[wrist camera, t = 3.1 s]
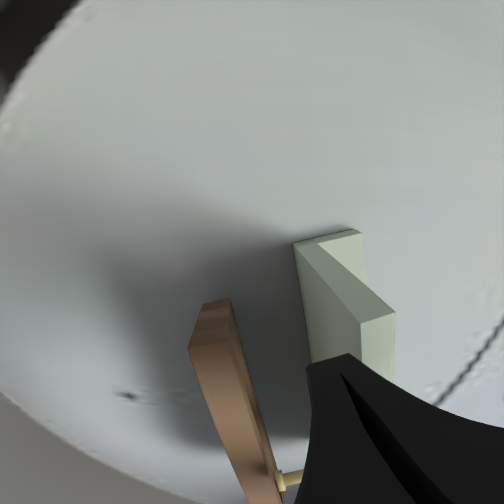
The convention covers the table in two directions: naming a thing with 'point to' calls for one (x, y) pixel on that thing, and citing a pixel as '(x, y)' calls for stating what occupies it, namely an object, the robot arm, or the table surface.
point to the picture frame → (233, 401)
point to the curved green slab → (341, 309)
